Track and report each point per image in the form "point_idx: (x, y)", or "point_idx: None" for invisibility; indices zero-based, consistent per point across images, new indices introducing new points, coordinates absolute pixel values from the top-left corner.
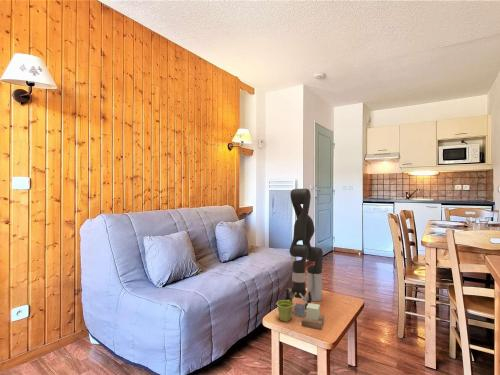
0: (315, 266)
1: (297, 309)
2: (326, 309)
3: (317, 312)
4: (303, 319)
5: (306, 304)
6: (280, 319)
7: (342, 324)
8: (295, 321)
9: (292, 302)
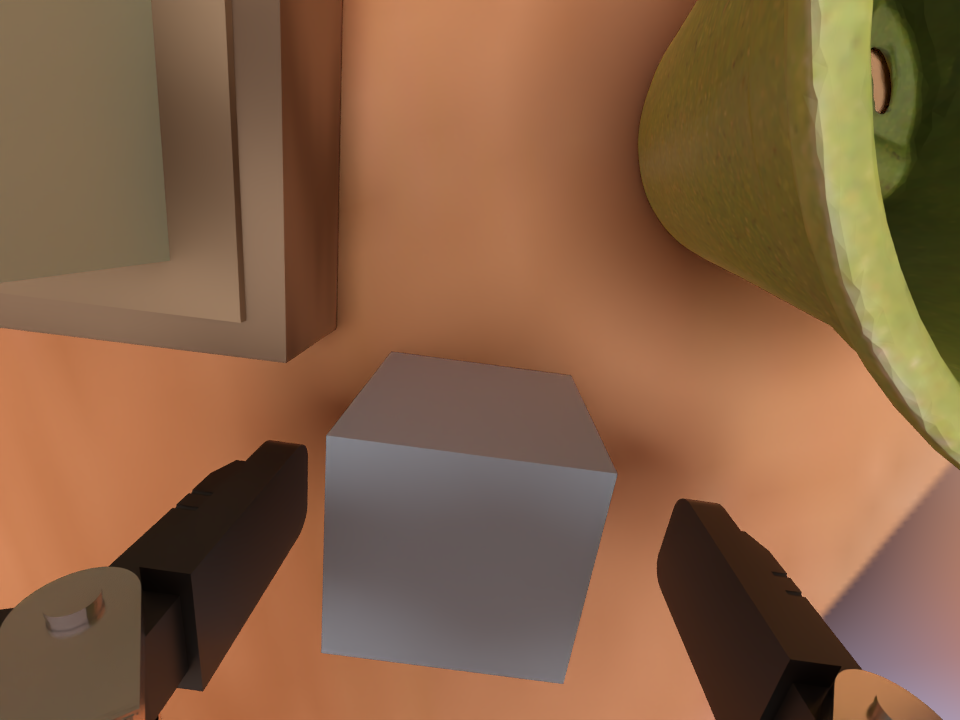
0: None
1: (507, 423)
2: None
3: None
4: None
5: (168, 563)
6: (913, 18)
7: None
8: (522, 80)
9: (902, 279)
